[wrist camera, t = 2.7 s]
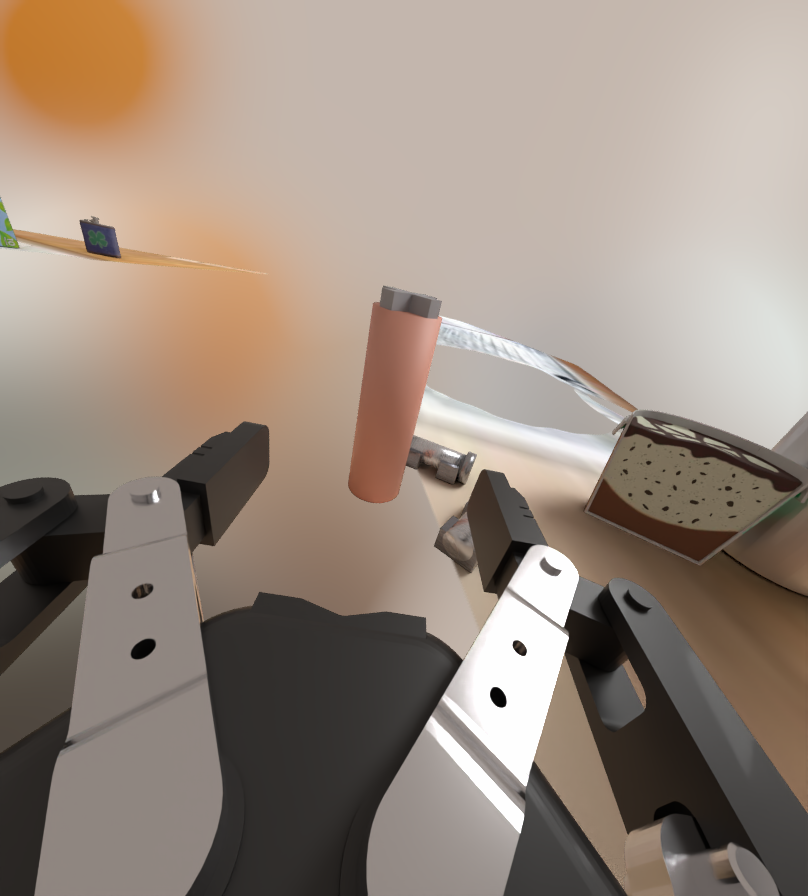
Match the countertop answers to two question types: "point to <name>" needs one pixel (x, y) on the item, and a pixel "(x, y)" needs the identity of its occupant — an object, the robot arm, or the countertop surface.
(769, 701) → the countertop surface
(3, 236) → the snack box
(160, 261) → the countertop surface
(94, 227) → the flask
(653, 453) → the food container
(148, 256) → the countertop surface
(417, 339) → the pink capped rod
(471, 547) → the shaft
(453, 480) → the shaft
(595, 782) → the countertop surface
